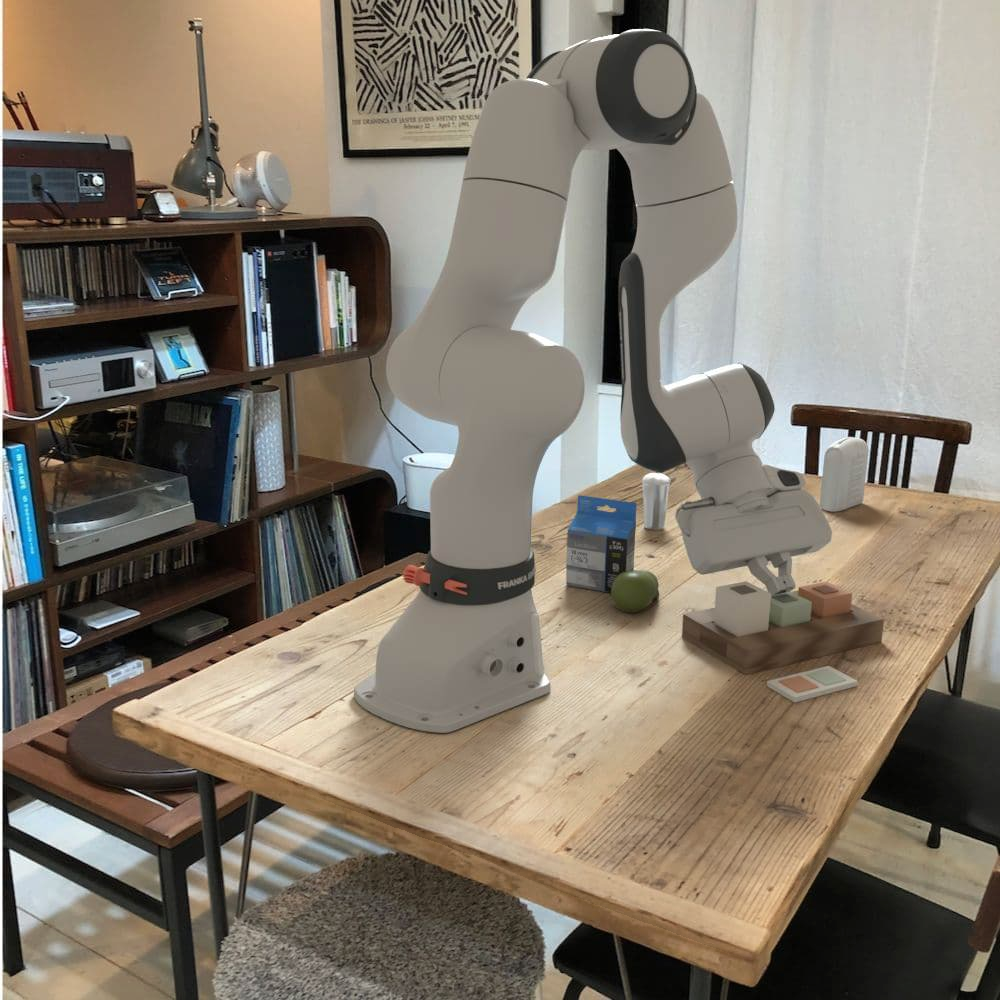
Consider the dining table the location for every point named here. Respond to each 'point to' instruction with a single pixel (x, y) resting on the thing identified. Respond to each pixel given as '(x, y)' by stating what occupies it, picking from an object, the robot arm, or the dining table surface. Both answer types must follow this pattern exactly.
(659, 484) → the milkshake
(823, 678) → the tile
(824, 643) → the keypad base
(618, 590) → the pear
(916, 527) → the dining table surface
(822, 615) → the key rust
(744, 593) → the key ivory
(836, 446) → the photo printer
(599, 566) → the label tape cartridge
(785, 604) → the key sage
